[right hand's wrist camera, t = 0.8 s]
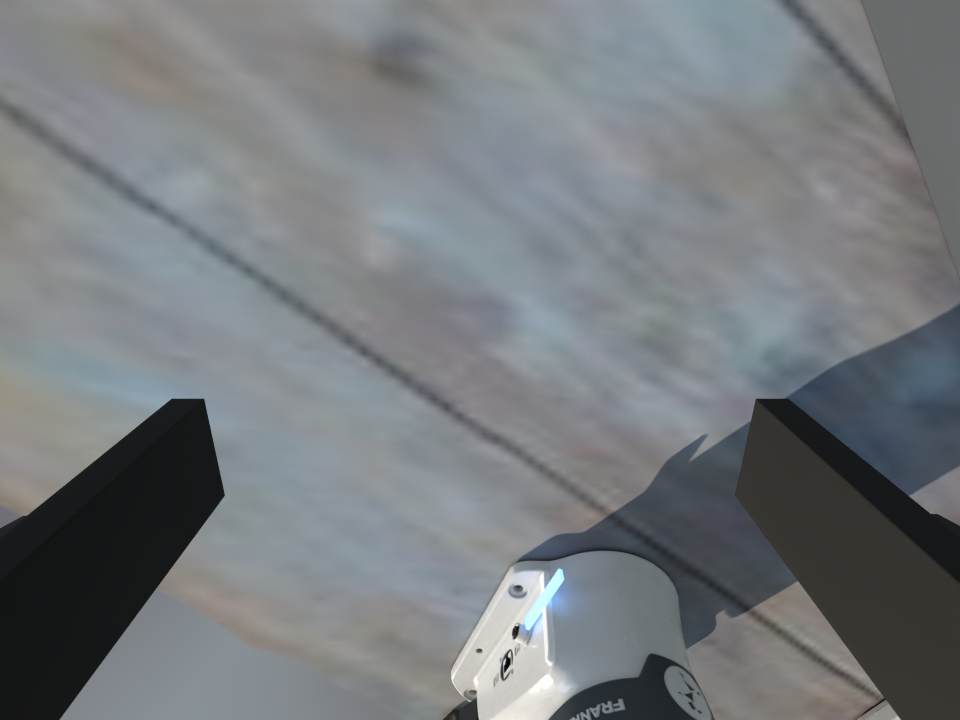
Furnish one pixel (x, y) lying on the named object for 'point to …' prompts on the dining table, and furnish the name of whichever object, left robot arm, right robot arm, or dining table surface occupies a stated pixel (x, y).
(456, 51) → the dining table surface
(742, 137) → the dining table surface
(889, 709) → the wall clock
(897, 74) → the bar
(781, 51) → the dining table surface
